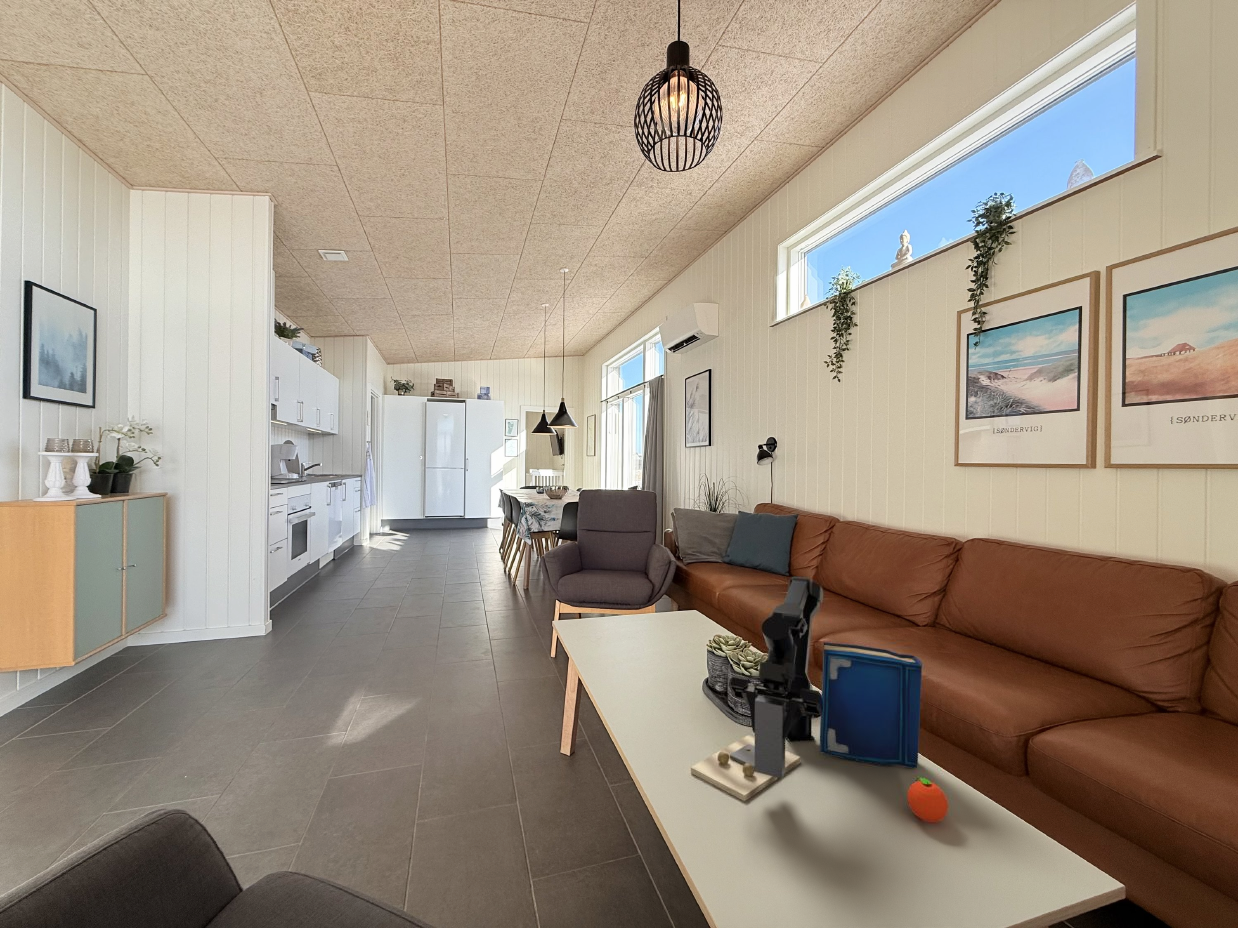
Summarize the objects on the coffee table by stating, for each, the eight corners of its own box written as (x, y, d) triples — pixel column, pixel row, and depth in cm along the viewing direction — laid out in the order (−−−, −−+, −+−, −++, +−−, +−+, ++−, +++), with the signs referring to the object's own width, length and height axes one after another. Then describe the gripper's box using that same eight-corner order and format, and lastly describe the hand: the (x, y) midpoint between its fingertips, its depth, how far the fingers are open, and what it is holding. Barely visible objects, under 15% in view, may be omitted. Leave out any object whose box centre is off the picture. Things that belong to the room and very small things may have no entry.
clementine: (897, 804, 112) (898, 768, 112) (933, 805, 112) (933, 769, 112) (918, 830, 104) (918, 791, 104) (955, 831, 104) (956, 792, 104)
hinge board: (748, 739, 138) (748, 725, 138) (800, 762, 128) (800, 747, 128) (690, 772, 123) (690, 757, 123) (744, 801, 112) (744, 784, 113)
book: (918, 758, 130) (919, 650, 130) (924, 773, 123) (925, 660, 123) (819, 742, 137) (820, 640, 137) (819, 756, 130) (820, 649, 130)
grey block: (762, 756, 119) (762, 689, 119) (788, 763, 117) (788, 694, 117) (754, 771, 114) (754, 700, 114) (781, 778, 111) (782, 705, 111)
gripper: (731, 637, 122) (714, 708, 112) (821, 652, 113) (812, 729, 103) (741, 662, 129) (726, 730, 119) (826, 677, 120) (818, 752, 110)
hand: (768, 735), depth 113 cm, fingers closed on grey block, 5 cm apart
